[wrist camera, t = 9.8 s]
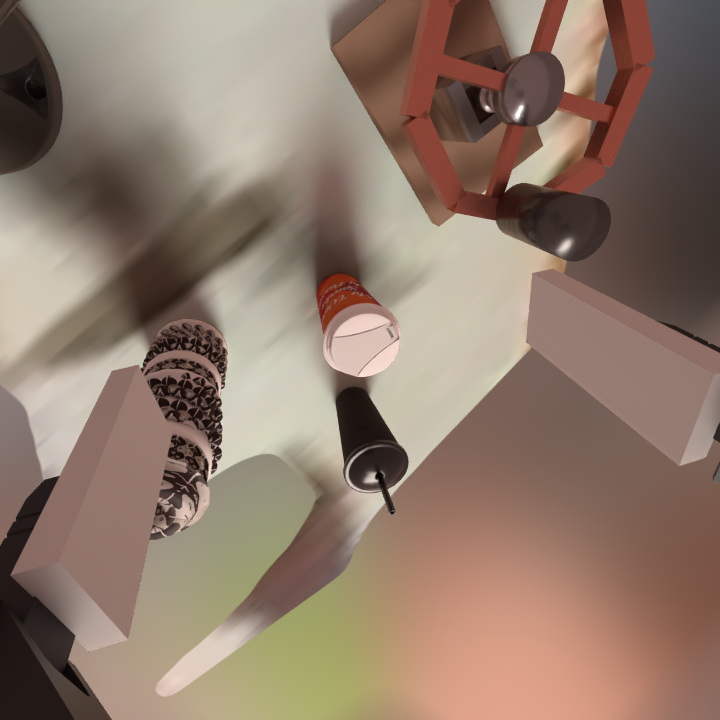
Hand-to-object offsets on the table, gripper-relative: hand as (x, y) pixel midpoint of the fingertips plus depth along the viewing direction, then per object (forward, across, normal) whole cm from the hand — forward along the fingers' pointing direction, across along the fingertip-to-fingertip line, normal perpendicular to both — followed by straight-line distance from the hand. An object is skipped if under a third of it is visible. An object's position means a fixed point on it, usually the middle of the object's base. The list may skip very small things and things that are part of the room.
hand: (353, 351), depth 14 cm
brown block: (+36, +18, +5) cm, 41 cm away
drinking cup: (+35, +4, -29) cm, 46 cm away
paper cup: (+36, +4, -13) cm, 38 cm away
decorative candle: (+36, -14, -16) cm, 42 cm away
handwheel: (+26, +18, +5) cm, 33 cm away
